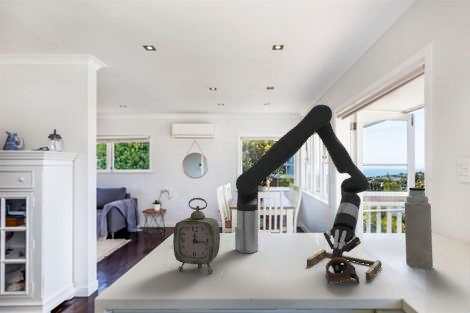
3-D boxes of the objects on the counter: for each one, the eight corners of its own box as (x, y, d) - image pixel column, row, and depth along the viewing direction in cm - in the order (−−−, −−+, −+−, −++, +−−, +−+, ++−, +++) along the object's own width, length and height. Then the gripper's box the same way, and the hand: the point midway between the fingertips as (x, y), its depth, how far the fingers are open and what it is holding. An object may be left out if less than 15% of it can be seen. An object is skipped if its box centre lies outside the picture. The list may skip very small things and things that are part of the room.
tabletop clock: (172, 273, 92) (173, 198, 93) (183, 263, 101) (184, 196, 102) (213, 276, 89) (213, 199, 90) (221, 266, 97) (221, 196, 99)
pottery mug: (368, 289, 80) (359, 267, 78) (339, 303, 80) (329, 282, 78) (347, 264, 92) (339, 245, 90) (322, 277, 92) (313, 258, 90)
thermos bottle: (403, 260, 103) (401, 186, 105) (428, 262, 101) (425, 187, 102) (409, 267, 96) (407, 188, 97) (436, 270, 93) (433, 188, 94)
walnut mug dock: (324, 255, 110) (324, 248, 110) (381, 266, 97) (381, 259, 97) (306, 266, 98) (306, 259, 98) (369, 281, 84) (369, 273, 85)
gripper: (326, 210, 103) (313, 250, 93) (363, 213, 95) (354, 258, 85) (331, 222, 107) (319, 262, 97) (367, 226, 99) (359, 270, 89)
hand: (335, 260), depth 91 cm, fingers closed
